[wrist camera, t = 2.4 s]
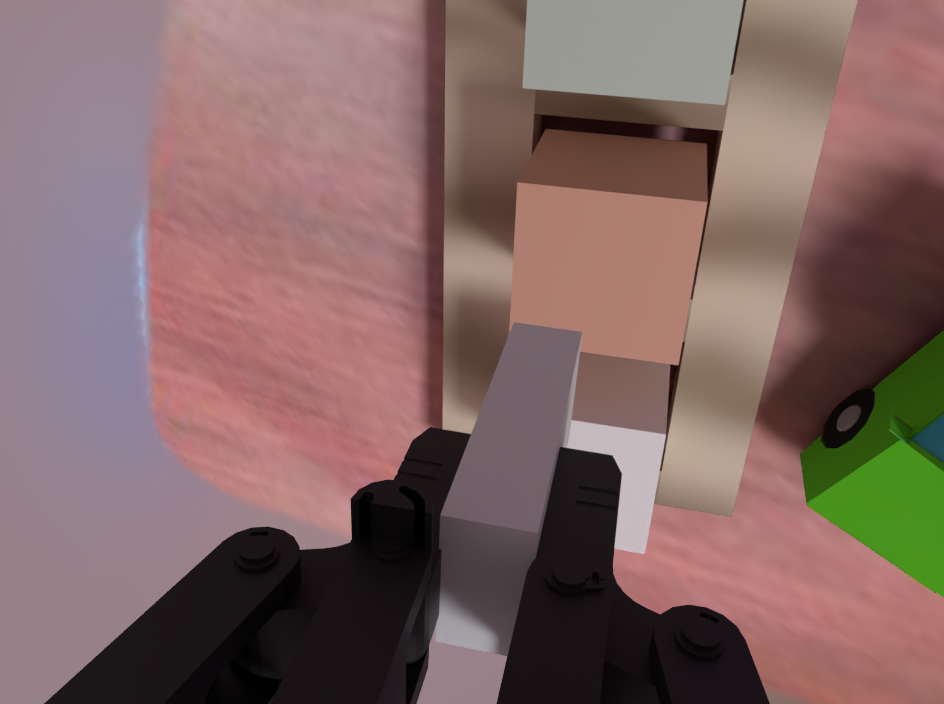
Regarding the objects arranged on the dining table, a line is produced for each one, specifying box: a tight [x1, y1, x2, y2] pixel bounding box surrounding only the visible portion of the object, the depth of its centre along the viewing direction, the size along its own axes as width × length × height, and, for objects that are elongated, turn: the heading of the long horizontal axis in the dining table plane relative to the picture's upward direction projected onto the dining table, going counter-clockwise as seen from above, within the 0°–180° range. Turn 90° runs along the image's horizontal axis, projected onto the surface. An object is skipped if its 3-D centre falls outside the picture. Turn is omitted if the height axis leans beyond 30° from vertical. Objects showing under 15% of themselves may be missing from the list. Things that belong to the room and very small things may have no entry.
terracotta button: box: [509, 129, 708, 365], centre depth 31 cm, size 6×6×6 cm
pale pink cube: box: [567, 352, 670, 554], centre depth 36 cm, size 6×6×6 cm
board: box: [443, 0, 857, 517], centre depth 35 cm, size 29×14×3 cm, turn 179°
